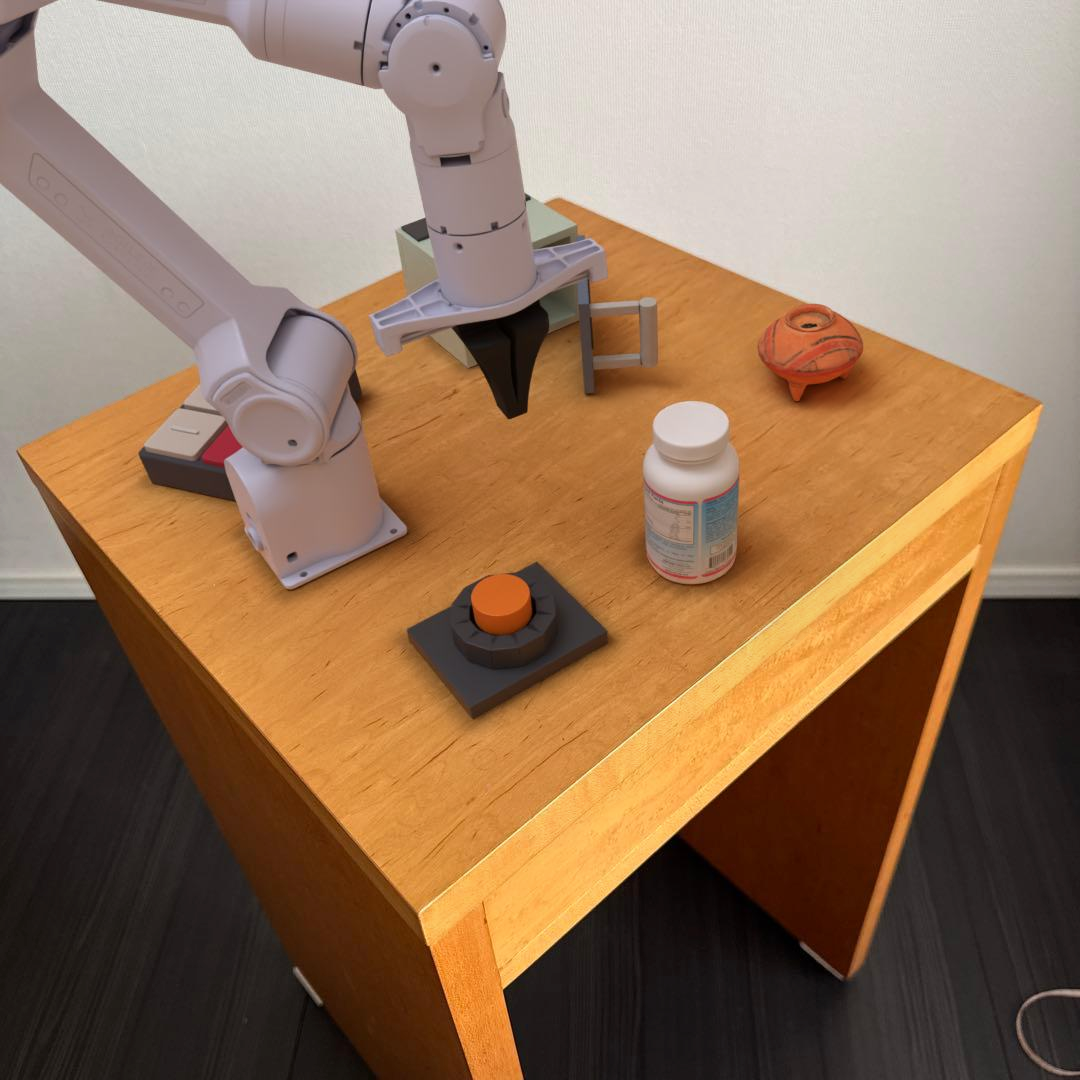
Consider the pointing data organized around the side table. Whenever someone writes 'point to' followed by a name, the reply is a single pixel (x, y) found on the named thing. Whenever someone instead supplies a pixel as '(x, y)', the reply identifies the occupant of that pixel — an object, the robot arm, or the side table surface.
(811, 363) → the pot
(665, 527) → the pill bottle
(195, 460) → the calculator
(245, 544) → the side table surface
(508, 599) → the button
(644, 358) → the washer door
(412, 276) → the washer
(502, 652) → the block
